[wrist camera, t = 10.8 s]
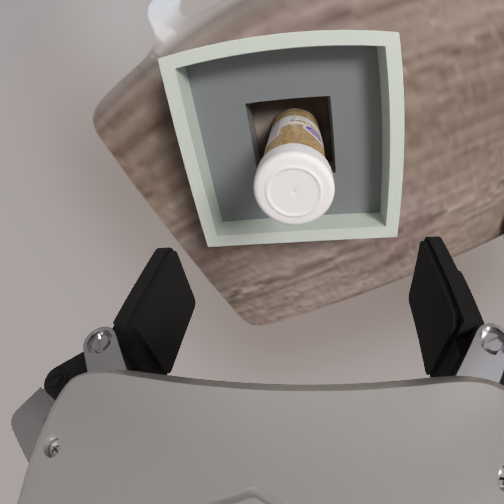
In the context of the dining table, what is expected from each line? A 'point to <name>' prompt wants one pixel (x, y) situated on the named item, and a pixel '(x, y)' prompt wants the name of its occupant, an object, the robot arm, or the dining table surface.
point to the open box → (286, 87)
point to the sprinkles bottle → (294, 171)
